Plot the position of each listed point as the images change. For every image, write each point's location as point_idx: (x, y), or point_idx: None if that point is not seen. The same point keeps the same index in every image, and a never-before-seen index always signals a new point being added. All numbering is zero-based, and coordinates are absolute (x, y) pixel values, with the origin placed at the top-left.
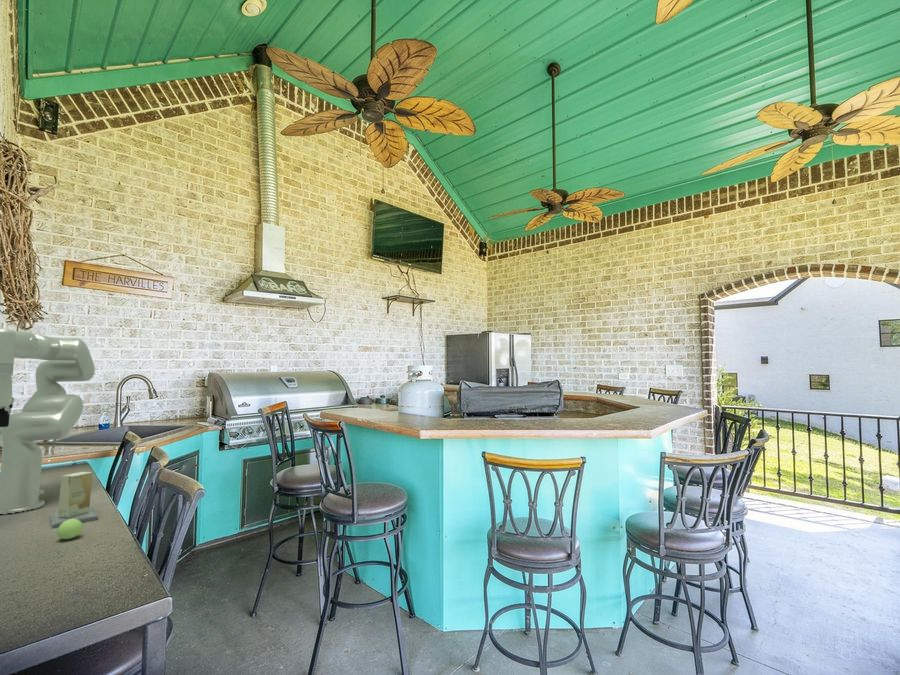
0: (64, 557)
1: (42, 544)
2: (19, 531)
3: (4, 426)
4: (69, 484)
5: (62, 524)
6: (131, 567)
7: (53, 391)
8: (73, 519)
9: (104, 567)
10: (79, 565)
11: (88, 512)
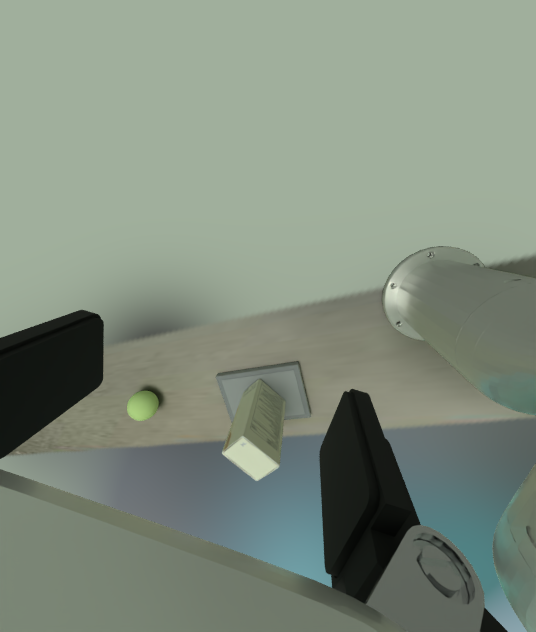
0: None
1: (141, 372)
2: (227, 334)
3: (324, 442)
4: (230, 434)
5: (129, 404)
6: (36, 445)
7: None
8: (134, 417)
9: (43, 428)
10: None
11: None
